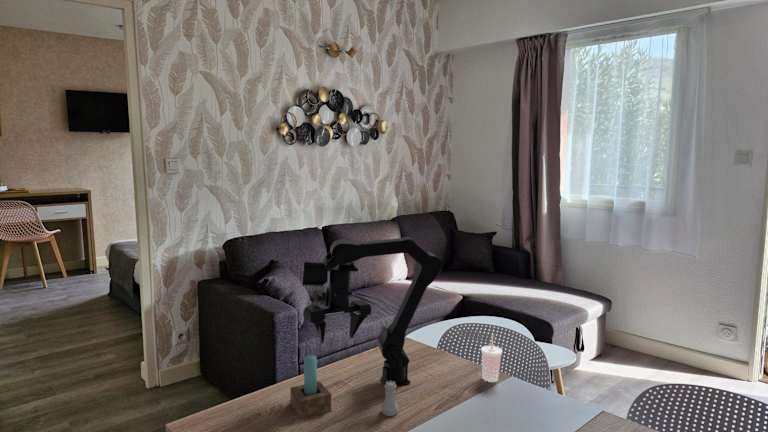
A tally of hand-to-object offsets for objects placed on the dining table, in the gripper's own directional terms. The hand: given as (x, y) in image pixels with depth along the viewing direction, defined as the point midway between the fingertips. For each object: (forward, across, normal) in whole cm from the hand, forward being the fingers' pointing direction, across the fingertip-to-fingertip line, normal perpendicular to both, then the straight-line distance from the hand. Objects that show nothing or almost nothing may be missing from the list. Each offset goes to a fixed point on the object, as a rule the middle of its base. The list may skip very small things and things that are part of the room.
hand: (336, 340), depth 141 cm
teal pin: (+13, +11, +8) cm, 19 cm away
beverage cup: (+12, -42, +19) cm, 47 cm away
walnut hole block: (+14, +11, +8) cm, 19 cm away
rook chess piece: (+13, -6, +20) cm, 25 cm away
